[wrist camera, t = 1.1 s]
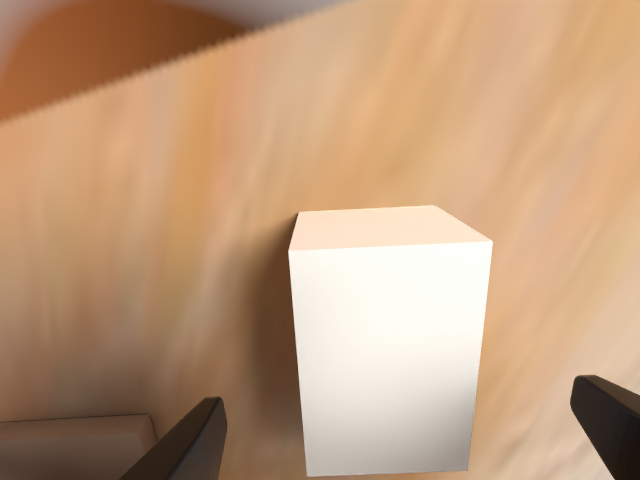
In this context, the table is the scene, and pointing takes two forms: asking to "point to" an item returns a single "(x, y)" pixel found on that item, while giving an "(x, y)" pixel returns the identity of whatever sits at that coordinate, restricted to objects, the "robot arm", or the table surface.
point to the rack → (74, 447)
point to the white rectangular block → (387, 338)
